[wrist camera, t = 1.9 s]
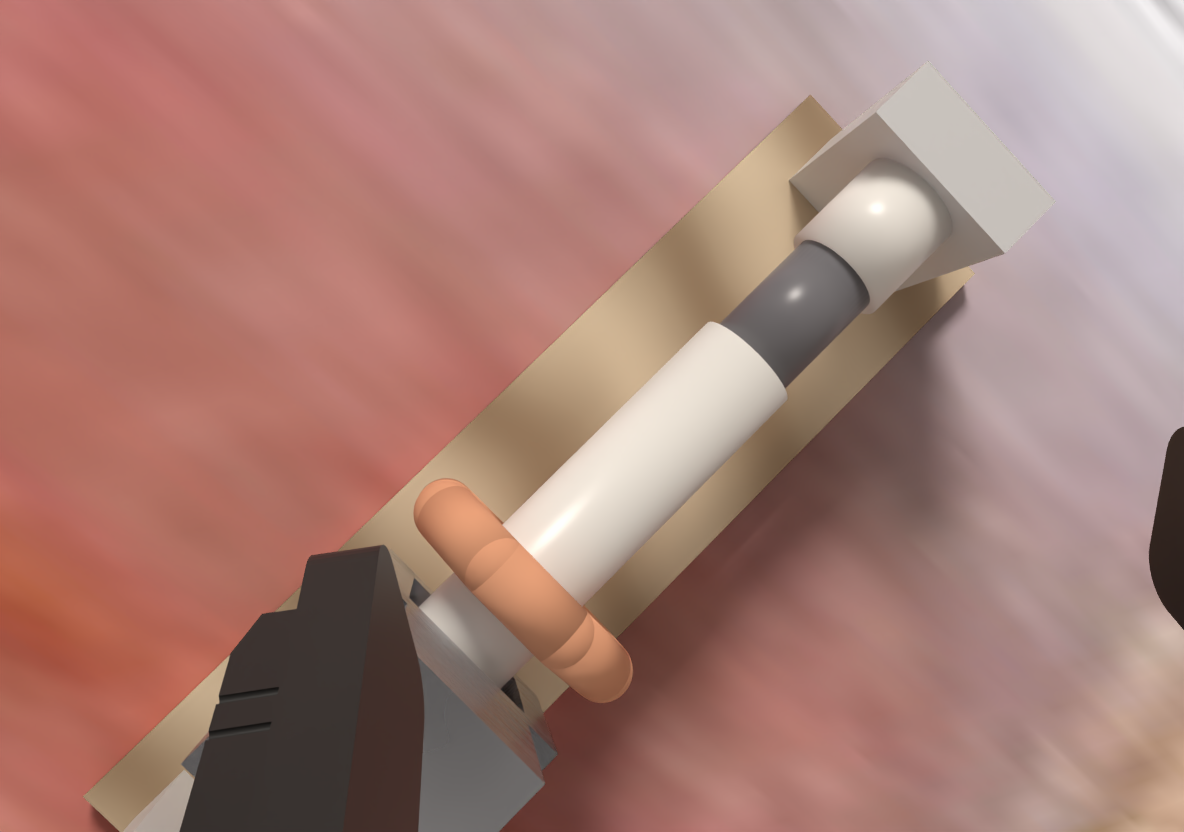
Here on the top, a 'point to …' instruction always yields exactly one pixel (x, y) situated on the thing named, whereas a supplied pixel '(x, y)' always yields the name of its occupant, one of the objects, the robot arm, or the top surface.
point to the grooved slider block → (465, 731)
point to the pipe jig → (753, 350)
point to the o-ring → (521, 592)
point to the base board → (595, 393)
